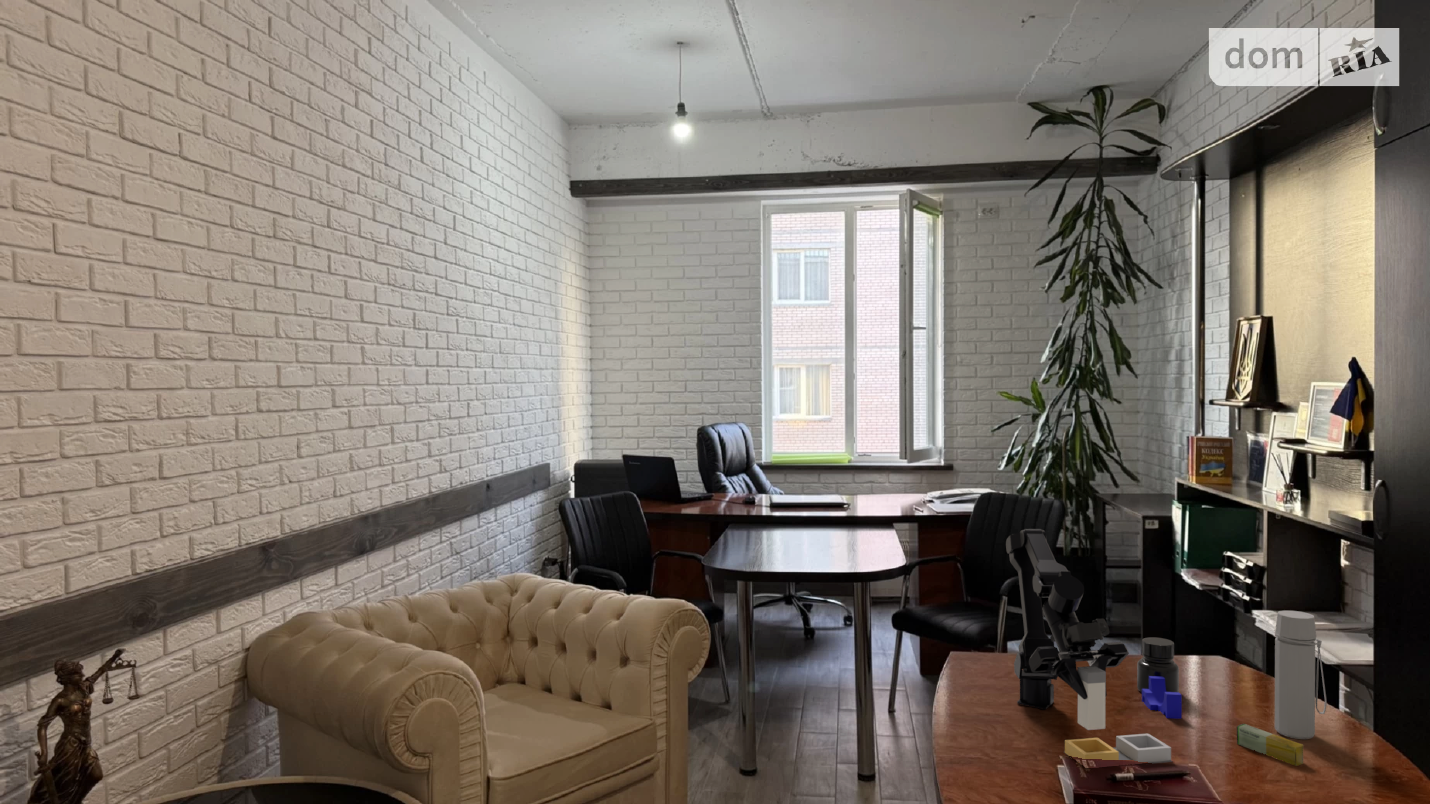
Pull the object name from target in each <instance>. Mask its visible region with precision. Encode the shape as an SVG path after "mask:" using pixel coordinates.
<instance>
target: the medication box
mask: <svg viewBox="0 0 1430 804" xmlns="http://www.w3.org/2000/svg"><path fill="white" fill-rule="evenodd" d="M1236 745H1239V746H1240V747H1241V746H1242V747H1243V748H1247V749H1249V750H1252V751H1254V750H1255V752H1256V753H1260V754H1262V753H1263V755H1265V754H1266V756H1268V757H1270V756H1273V757H1274V758H1273V757H1272V758H1273V759H1276V758H1277V759H1276V760H1279V761H1281V760H1283V761H1282V762H1284V761H1285V762H1284V763H1287V764H1289V763H1290V764H1289V765H1292V766H1295V767H1297V766H1300V765H1303V764H1304V744H1303V743H1299V742H1296V741H1294V740H1291V739H1288V738H1285V737H1283V736H1280V735H1277V734H1274V733H1271V732H1269V731H1265V730H1264V729H1260V728H1257V727H1255V726H1251V725H1249V724H1246V723H1242V724H1239V725H1237V726H1236Z"/></svg>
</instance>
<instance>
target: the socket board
mask: <svg viewBox="0 0 1430 804" xmlns="http://www.w3.org/2000/svg"><path fill="white" fill-rule="evenodd" d="M1063 753H1064V754H1065V755H1067V756H1068V757H1069V756H1072V757H1078V758H1082V759H1102V760H1134V761H1138V762H1148V763H1152V764H1163V763H1172V762H1173V760H1172V747H1171V746H1170V745H1168V744H1166V743H1165V742H1164V741H1161V740H1160V739H1158V738H1156V737H1155V736H1153V735H1151V734H1150V733H1138V734H1126V735H1116V737H1115V747H1112V746H1111V745H1109V744H1108V743H1106V742H1105V741H1103V740H1102V739H1100V738H1099V737H1088V738H1076V739H1065V740H1064V751H1063ZM1173 763H1174V762H1173Z"/></svg>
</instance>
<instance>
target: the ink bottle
mask: <svg viewBox="0 0 1430 804" xmlns="http://www.w3.org/2000/svg"><path fill="white" fill-rule="evenodd" d="M1141 654H1142V656H1143V657H1141V658H1140V659H1139V660H1138V661H1137V664H1136V666H1137V669H1136V671H1137V672H1136V674H1137V675H1136V676H1137V678H1136V679H1137V680H1136V682H1137V683H1136V685H1137V690H1138V691H1140V693H1142V689H1149V676H1161V677H1164V678H1165V687H1166V692H1179V693H1180V689H1179V688H1180V667H1179V665H1178V664H1177V663H1176V662H1175V661H1174V659H1175V642H1174V641H1172V640H1171V639H1167V638H1162V637H1155V636H1154V637H1151V636H1150V637H1145V638H1142V639H1141Z"/></svg>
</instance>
